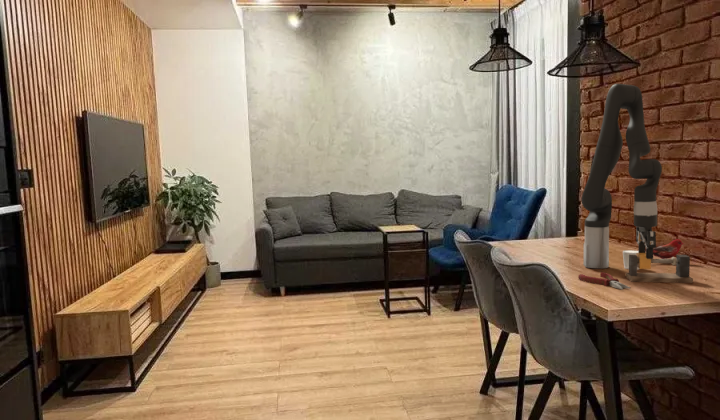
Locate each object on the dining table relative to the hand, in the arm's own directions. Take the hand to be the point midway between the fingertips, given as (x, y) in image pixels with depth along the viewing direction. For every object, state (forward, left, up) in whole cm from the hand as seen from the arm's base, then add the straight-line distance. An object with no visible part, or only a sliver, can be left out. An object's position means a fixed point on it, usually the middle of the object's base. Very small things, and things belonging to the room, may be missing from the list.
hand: (645, 256), depth 181 cm
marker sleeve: (-1, 0, -4) cm, 4 cm away
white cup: (0, +19, -9) cm, 21 cm away
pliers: (-17, -8, -9) cm, 20 cm away
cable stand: (+4, 0, -9) cm, 10 cm away
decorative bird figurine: (+15, +31, -9) cm, 36 cm away
